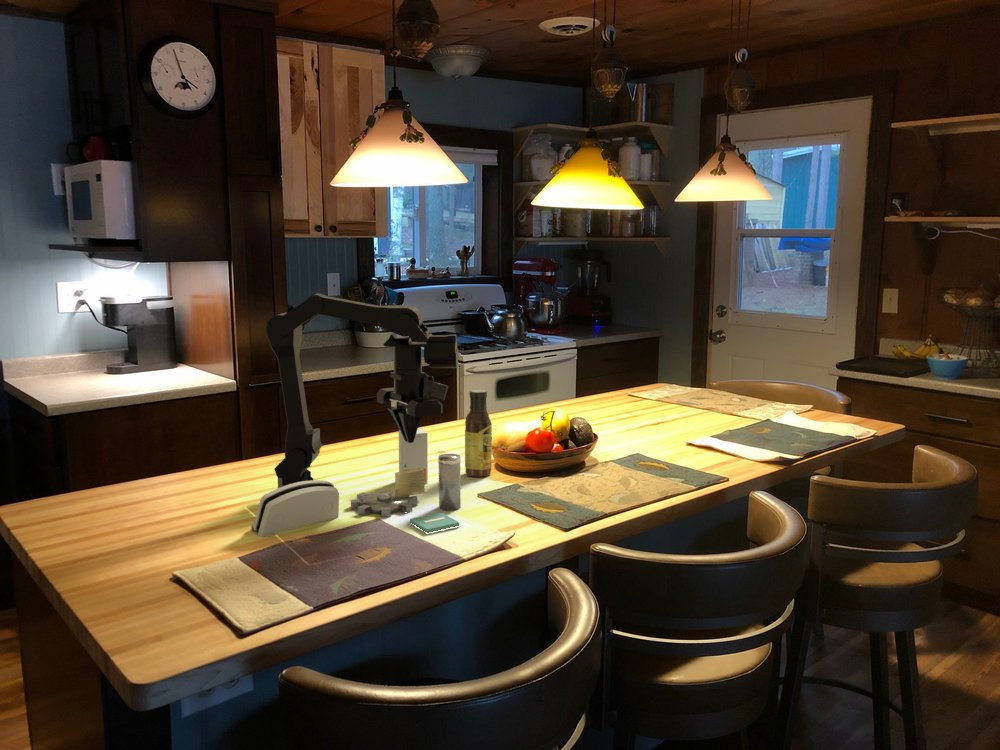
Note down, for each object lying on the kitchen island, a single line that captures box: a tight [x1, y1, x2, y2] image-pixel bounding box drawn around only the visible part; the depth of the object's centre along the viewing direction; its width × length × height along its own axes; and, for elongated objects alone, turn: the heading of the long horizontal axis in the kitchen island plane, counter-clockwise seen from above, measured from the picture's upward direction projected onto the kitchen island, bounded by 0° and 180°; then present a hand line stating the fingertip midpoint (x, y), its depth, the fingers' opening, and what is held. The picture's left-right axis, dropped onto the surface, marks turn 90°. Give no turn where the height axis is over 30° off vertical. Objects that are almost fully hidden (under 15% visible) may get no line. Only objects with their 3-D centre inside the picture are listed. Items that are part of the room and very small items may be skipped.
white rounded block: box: [250, 479, 340, 538], centre depth 162 cm, size 17×5×10 cm, turn 131°
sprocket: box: [350, 468, 426, 518], centre depth 174 cm, size 16×13×6 cm
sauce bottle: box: [464, 389, 493, 478], centre depth 196 cm, size 7×6×20 cm
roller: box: [437, 453, 462, 512], centre depth 172 cm, size 4×4×11 cm
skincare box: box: [398, 428, 429, 485], centre depth 190 cm, size 6×4×12 cm
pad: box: [409, 512, 460, 533], centre depth 162 cm, size 7×7×1 cm
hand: (409, 441), depth 175 cm, fingers closed
